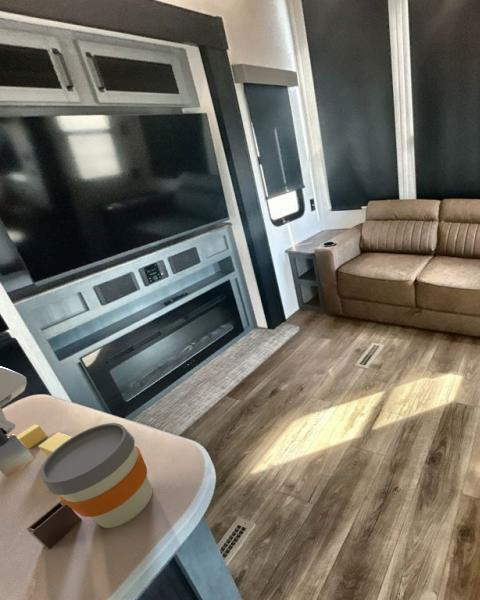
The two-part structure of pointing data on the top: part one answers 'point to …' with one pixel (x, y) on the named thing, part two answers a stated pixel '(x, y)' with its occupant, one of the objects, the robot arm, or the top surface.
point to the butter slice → (31, 436)
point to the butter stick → (53, 443)
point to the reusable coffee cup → (100, 475)
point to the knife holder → (54, 524)
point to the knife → (12, 454)
